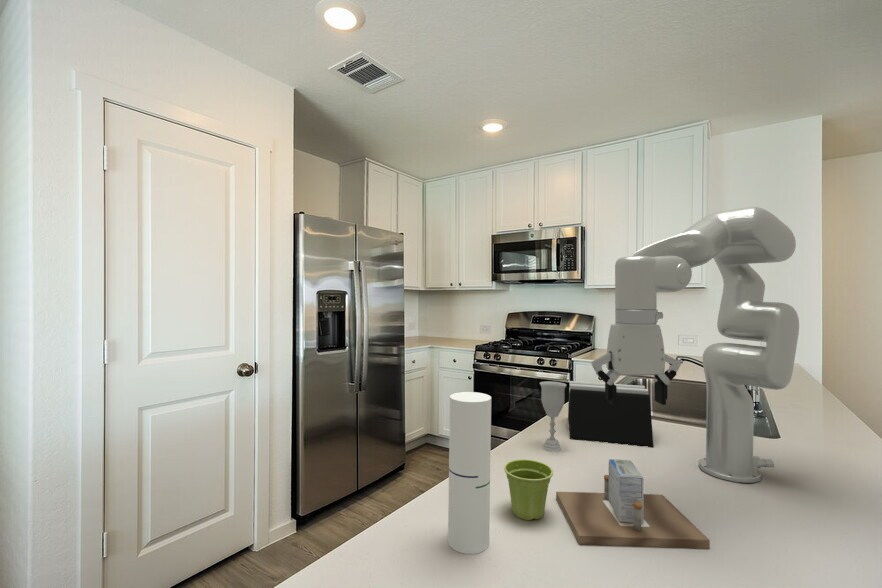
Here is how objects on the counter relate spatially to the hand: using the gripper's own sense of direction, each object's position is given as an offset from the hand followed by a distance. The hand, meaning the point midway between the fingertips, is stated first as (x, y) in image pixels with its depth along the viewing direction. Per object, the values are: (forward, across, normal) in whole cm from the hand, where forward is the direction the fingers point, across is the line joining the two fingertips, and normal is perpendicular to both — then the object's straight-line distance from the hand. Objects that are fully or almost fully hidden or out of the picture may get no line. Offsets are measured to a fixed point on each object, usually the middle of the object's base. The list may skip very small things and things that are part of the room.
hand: (635, 403), depth 83 cm
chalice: (+22, +9, -32) cm, 40 cm away
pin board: (+21, +4, +5) cm, 22 cm away
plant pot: (+21, +22, +2) cm, 31 cm away
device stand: (+23, -12, -48) cm, 55 cm away
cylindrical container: (+20, +34, +12) cm, 42 cm away
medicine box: (+20, +4, +5) cm, 21 cm away
